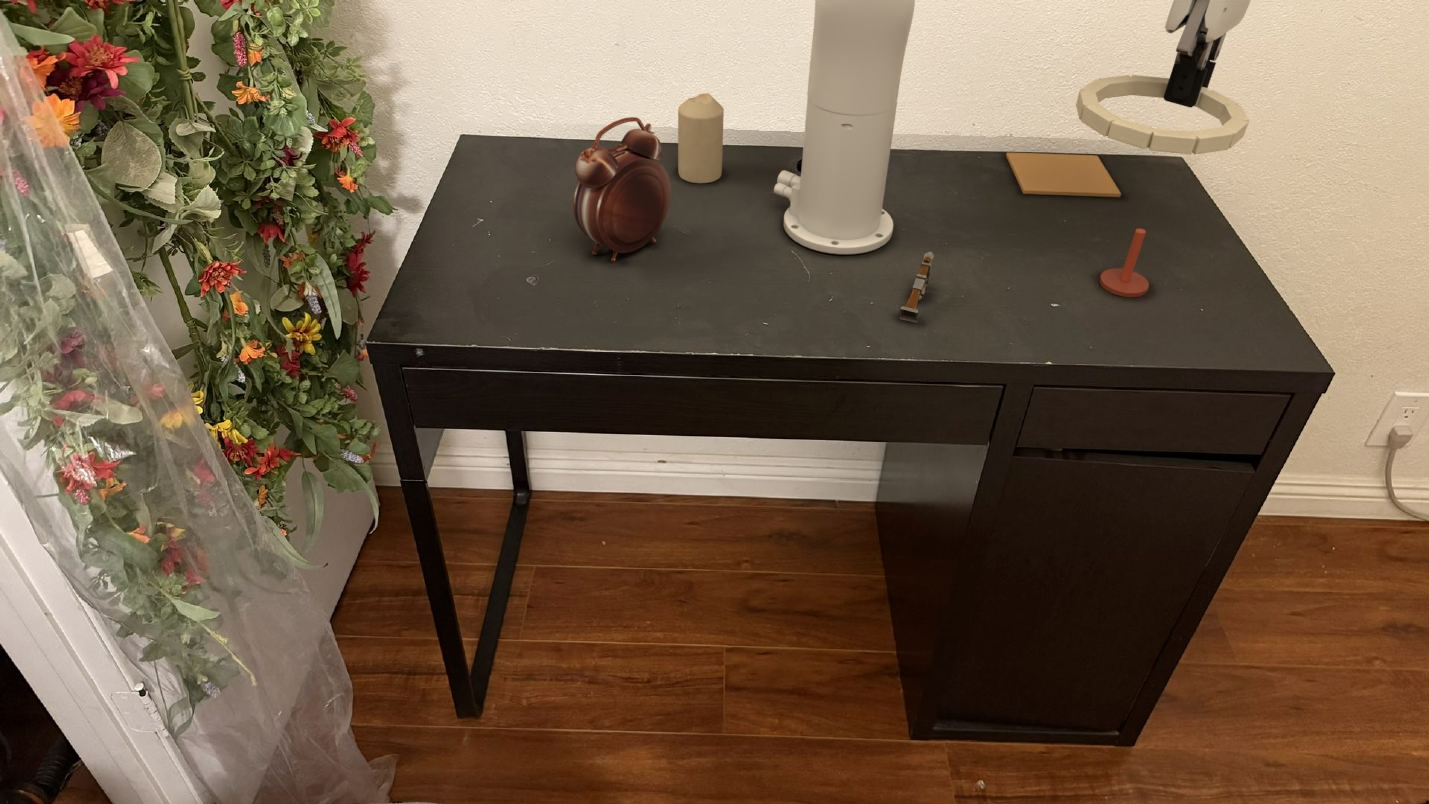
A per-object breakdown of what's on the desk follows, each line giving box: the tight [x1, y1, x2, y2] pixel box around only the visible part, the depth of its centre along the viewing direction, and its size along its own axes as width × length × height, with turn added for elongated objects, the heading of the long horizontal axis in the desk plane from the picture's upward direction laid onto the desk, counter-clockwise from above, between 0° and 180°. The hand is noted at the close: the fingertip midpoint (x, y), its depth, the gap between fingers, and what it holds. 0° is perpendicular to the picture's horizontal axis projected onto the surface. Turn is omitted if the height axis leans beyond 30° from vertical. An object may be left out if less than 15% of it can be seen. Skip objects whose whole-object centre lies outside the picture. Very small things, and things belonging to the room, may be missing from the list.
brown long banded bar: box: [899, 251, 935, 324], centre depth 102 cm, size 2×8×4 cm, turn 157°
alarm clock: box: [572, 116, 672, 262], centre depth 106 cm, size 11×5×15 cm, turn 136°
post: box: [1098, 228, 1150, 298], centre depth 105 cm, size 5×5×7 cm
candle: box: [677, 92, 725, 184], centre depth 122 cm, size 6×6×10 cm
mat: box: [1005, 151, 1122, 198], centre depth 127 cm, size 12×11×1 cm
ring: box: [1075, 74, 1250, 155], centre depth 99 cm, size 16×16×2 cm
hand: (1183, 99), depth 104 cm, fingers closed on ring, 1 cm apart
